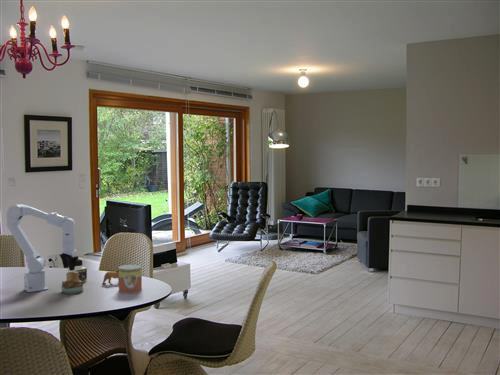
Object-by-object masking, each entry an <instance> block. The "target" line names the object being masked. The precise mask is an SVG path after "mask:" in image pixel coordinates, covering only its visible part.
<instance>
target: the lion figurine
mask: <svg viewBox="0 0 500 375" xmlns="http://www.w3.org/2000/svg"><path fill="white" fill-rule="evenodd" d="M112 279H114V280H115V279H116V280H117V279H118V280H117V282H118V283H119V269H118V270H116V271H107V272H106V273H105V274H104V276H103V281H102V283H101V285H106V284H107V283H108V284H109V286H112V285H113V283H112V282H111V281H112ZM106 281H107V283H106Z"/></svg>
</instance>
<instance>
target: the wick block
mask: <svg viewBox="0 0 500 375" xmlns="http://www.w3.org/2000/svg"><path fill="white" fill-rule="evenodd" d="M65 275H66V281H67V283H73V282H79V279H78V272H77V271H75V272H68V271H67V272H66V274H65Z"/></svg>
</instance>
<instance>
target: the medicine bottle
mask: <svg viewBox="0 0 500 375" xmlns="http://www.w3.org/2000/svg"><path fill="white" fill-rule="evenodd" d="M75 271H77V272H78V279H79V280H81V281H83V283H84V282H87V280H88V273H87V272H88V269H87V267H84V260H83V258H79V257H78V259H77V261H76V264H75V269H74V270H71V271H70V270H69V267H68V268H67V273H68V272H75Z"/></svg>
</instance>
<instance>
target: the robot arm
mask: <svg viewBox="0 0 500 375" xmlns="http://www.w3.org/2000/svg"><path fill="white" fill-rule="evenodd" d="M5 215H6V226H7V229H8V230H9V232H10V233H11V235H12V237H13V238H14V240H15V242H16V243H17V245H18V247H19V248H20V250H21V251H22V253H23V255H24V256H25V261H26V263H27V268H28V270H29V272H26V273H24V275H23V290H24V291H26V292H28V293H33V292H38V291H44V290H45V291H46V290H49V287H46V269H45V266H46V265H47V264H46V259H45V258H44V257H43V256H41V254H40V253H39V252H37V250H36V249H35V248H34V246H33V245H32V243H31V242H30V239H29V238H28V237H27V235H26V233H25V231H24V230H23V228H22V226H21V225H20V224H21V220H22V218H23V217H24V216H33V217H36V218H39V219H42V220H45V221H46V222H47V224H49V225H52V226H55V227H57V228H61V229H62V236H61V237H62V248H61V253H59V257H60V259H61V262H62V265H63V268H64V269H66V268H67V269H68V268H69V270H70V271H71V270H74V269H75V264H76V261H77V259H78V258H79V255H77V252H78V250H77V249H76V247H75V246H76V244H75V235H76V234H75V226H76V221H75V219H73V218H71V217H68V216H66V215H64V216H63V215H60V214H58V212H56V211H55V212H50V213H48V212H45V211H43V210H40V209H37V208H36V207H32V206H30V205H27V204H23V203H16V204H13V205H11V206H10V207H8V209H7V211H6V213H5Z"/></svg>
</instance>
